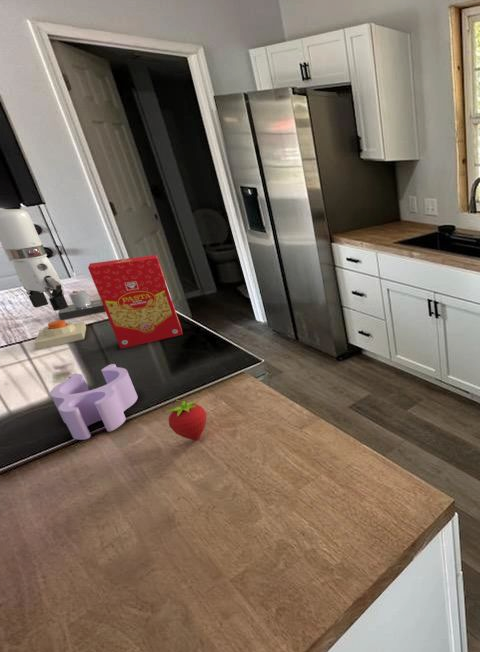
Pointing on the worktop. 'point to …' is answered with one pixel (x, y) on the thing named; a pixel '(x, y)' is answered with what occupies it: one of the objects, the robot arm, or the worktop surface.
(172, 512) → the worktop surface
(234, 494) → the worktop surface
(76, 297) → the hob dial
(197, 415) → the strawberry
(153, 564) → the worktop surface
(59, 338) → the cream flat block
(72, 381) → the clip
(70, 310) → the hob panel
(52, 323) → the kettle button
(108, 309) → the food packaging
